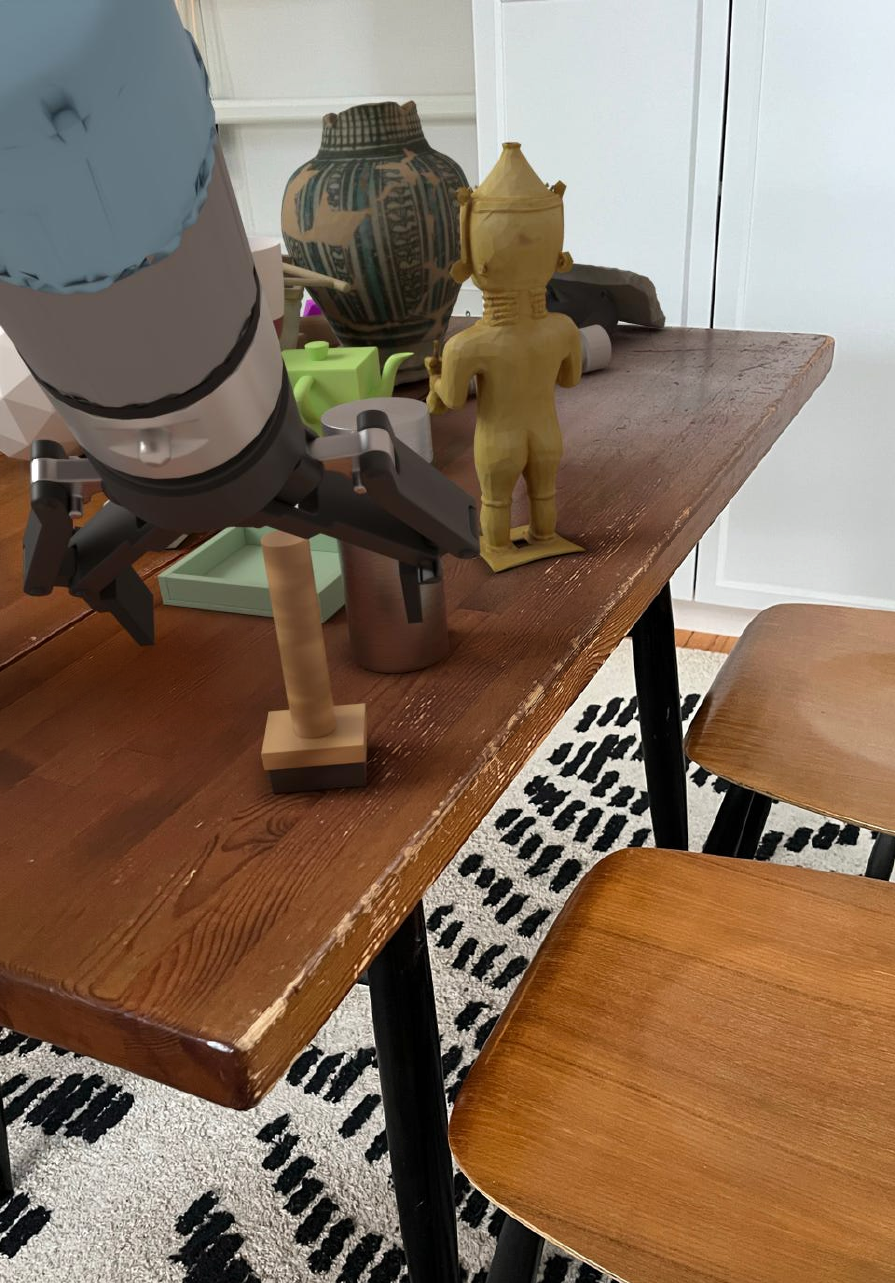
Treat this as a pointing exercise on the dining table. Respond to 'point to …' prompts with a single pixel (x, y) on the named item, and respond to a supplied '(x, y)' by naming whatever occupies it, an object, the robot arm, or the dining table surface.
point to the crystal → (311, 308)
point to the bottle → (388, 564)
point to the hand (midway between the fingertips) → (280, 609)
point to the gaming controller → (586, 311)
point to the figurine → (512, 353)
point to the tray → (245, 575)
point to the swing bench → (300, 297)
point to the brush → (307, 685)
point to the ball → (27, 409)
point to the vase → (379, 232)
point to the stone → (611, 292)
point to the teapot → (337, 377)
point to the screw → (584, 351)
